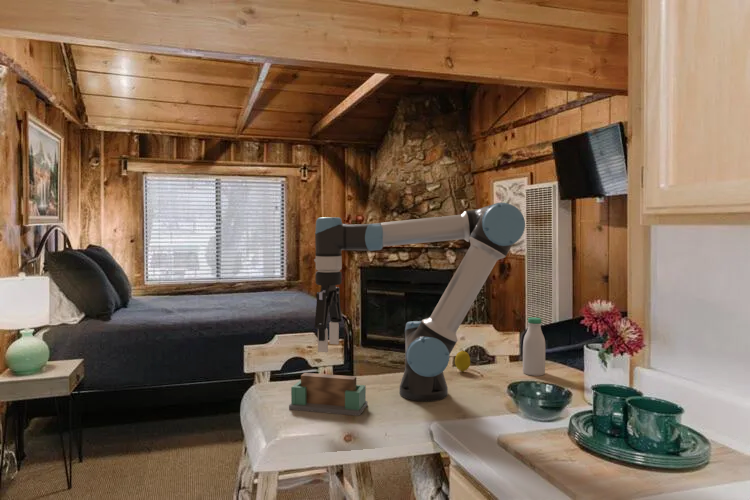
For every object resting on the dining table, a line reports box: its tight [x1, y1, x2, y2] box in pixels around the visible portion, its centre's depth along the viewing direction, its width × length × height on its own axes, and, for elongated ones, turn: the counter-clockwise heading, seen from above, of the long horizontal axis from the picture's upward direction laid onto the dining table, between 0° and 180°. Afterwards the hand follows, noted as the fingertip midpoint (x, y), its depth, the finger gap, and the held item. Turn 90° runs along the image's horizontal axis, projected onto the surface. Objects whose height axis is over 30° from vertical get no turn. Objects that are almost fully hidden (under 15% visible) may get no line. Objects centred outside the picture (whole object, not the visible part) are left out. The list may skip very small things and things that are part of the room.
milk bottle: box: [522, 316, 546, 377], centre depth 190 cm, size 8×8×20 cm
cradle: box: [288, 379, 368, 417], centre depth 154 cm, size 21×9×6 cm, turn 76°
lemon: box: [454, 349, 471, 373], centre depth 191 cm, size 6×6×8 cm
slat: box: [300, 372, 357, 406], centre depth 154 cm, size 16×3×8 cm, turn 76°
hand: (328, 347), depth 153 cm, fingers open, 9 cm apart
